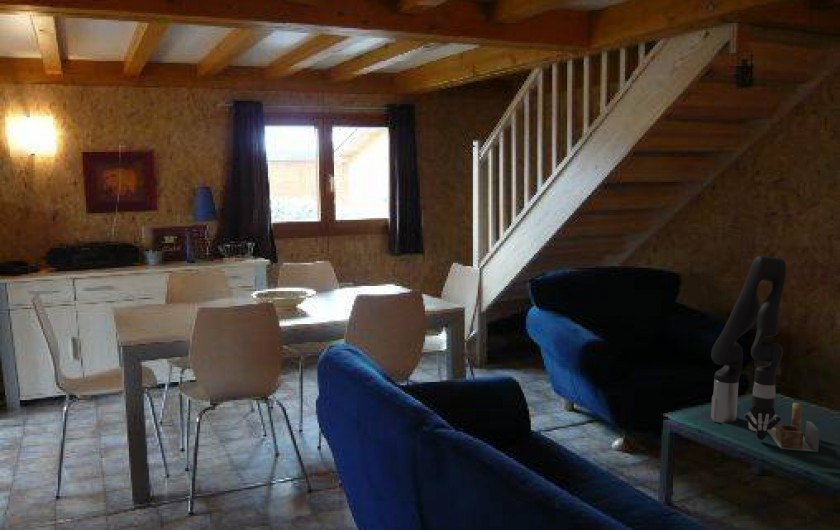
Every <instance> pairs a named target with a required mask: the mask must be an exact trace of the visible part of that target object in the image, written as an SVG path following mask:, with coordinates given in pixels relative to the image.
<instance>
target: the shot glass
mask: <svg viewBox="0 0 840 530" xmlns="http://www.w3.org/2000/svg"><path fill="white" fill-rule="evenodd" d="M751 416H752V418H751V420H752V421H753V422H754V424H756V419H755V418H754V416H753V415H751ZM747 422H748V429H749V430H751V431H753V432H757V429H756V428H753V426H752V425H751V424H750V422H749V421H748V420H747Z"/></svg>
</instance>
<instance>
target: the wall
mask: <svg viewBox="0 0 840 530" xmlns="http://www.w3.org/2000/svg"><path fill="white" fill-rule="evenodd" d="M804 432H805V434H804V437H805V442H806V443H807V444H808V446H809V447H810V448H811V449H812V450H813V451H812V452H815V451H817V452H819V444H820V432H821V431H820V429H819V428H818V427H817V426H816V425H815V424H814V423H813V422H812V421H809V420H805V431H804ZM817 452H816V453H817Z"/></svg>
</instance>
